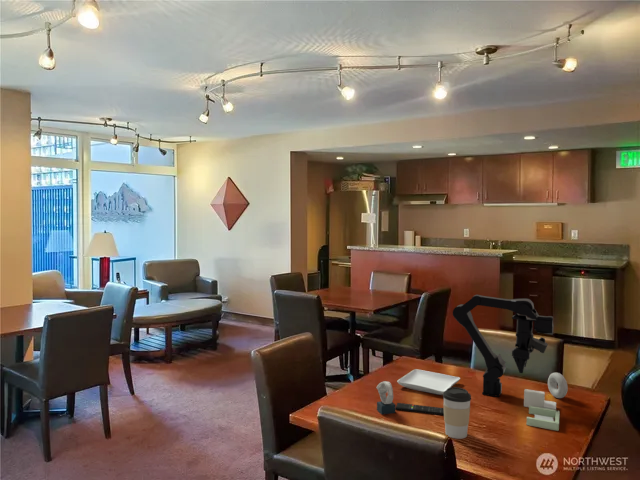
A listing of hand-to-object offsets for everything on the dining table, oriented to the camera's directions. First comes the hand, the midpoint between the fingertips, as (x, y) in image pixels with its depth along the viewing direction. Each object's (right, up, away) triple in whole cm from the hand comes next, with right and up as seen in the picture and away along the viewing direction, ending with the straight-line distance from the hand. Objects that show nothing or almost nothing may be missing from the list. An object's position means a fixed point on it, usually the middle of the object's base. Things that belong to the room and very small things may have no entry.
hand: (522, 369), depth 194 cm
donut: (+15, -12, +2) cm, 19 cm away
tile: (-1, -13, -21) cm, 25 cm away
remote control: (-40, -13, -13) cm, 44 cm away
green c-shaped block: (-2, -13, -21) cm, 24 cm away
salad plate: (-34, -11, +15) cm, 39 cm away
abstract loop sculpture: (-56, -12, -13) cm, 59 cm away
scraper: (+3, -12, -9) cm, 15 cm away
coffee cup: (-35, -13, -32) cm, 49 cm away
